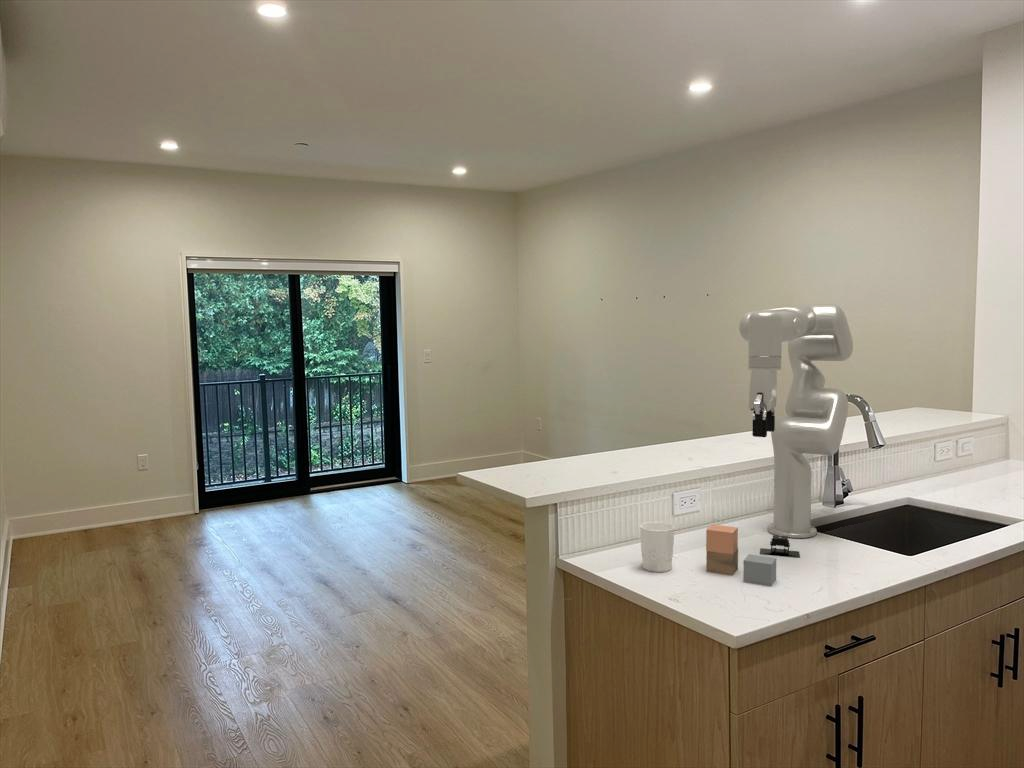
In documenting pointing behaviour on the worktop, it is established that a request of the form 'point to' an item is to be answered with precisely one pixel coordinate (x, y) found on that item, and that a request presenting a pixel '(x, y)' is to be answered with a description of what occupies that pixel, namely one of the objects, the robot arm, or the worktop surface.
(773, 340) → the robot arm
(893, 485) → the worktop surface
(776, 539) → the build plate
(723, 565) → the walnut block
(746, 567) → the slate grey block
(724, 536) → the terracotta block
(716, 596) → the worktop surface
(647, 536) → the white cup
